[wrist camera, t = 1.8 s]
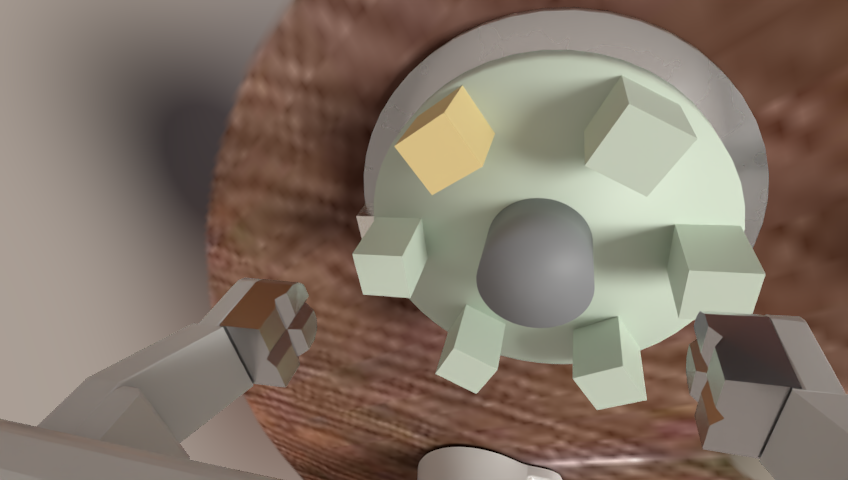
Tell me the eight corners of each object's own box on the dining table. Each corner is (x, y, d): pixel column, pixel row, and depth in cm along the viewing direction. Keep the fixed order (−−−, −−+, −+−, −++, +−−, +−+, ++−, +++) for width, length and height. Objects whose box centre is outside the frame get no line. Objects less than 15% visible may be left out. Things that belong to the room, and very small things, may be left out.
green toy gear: (790, 284, 27) (836, 366, 22) (493, 368, 38) (480, 436, 33) (629, -48, 20) (645, -35, 16) (325, 170, 31) (277, 218, 26)
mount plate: (824, 278, 28) (845, 310, 26) (489, 372, 40) (484, 399, 38) (648, -115, 20) (656, -118, 18) (302, 152, 33) (282, 170, 31)
